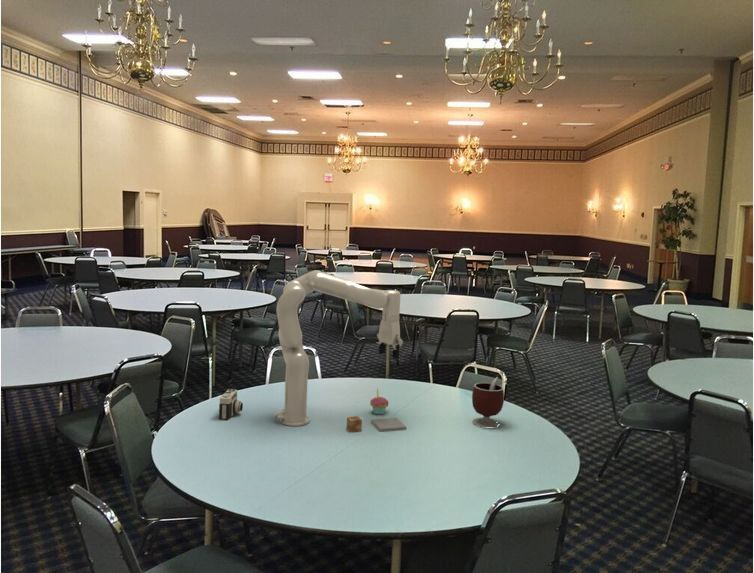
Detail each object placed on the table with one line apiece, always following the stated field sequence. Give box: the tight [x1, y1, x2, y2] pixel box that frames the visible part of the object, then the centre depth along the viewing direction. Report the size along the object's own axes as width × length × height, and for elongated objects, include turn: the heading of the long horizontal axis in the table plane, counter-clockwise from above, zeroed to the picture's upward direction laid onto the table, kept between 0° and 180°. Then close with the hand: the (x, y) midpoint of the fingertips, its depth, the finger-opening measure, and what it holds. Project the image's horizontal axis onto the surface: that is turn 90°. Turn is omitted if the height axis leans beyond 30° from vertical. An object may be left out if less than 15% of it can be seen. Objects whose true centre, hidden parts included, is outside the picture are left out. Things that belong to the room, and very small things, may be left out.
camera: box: [218, 388, 244, 421], centre depth 258 cm, size 14×8×10 cm, turn 179°
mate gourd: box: [471, 376, 505, 428], centre depth 262 cm, size 16×14×20 cm
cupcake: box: [369, 387, 389, 415], centre depth 270 cm, size 9×8×12 cm
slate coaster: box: [370, 417, 407, 433], centre depth 254 cm, size 12×12×1 cm
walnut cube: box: [346, 415, 363, 433], centre depth 247 cm, size 5×5×5 cm
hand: (388, 355), depth 262 cm, fingers open, 9 cm apart
